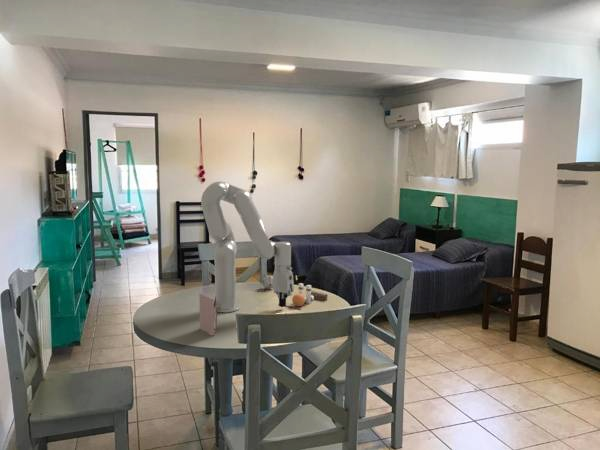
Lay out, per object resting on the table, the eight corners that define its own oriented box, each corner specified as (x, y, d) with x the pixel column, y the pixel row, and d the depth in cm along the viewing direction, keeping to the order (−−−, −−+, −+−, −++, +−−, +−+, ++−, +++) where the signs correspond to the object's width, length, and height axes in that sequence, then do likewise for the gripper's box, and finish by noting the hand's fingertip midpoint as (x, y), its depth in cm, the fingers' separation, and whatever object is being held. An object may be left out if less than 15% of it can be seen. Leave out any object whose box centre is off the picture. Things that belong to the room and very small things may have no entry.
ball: (308, 301, 234) (300, 310, 233) (301, 294, 238) (293, 303, 237) (303, 296, 229) (295, 305, 229) (296, 289, 233) (287, 298, 233)
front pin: (302, 299, 237) (314, 295, 243) (298, 298, 238) (310, 294, 245) (302, 304, 237) (314, 300, 244) (298, 303, 239) (310, 299, 245)
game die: (270, 296, 265) (273, 284, 259) (257, 290, 267) (259, 278, 260) (277, 285, 272) (280, 273, 265) (263, 279, 273) (266, 267, 267)
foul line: (300, 310, 227) (300, 309, 227) (278, 304, 236) (278, 304, 236) (301, 309, 227) (301, 309, 227) (279, 304, 236) (279, 303, 236)
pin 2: (308, 304, 237) (309, 286, 236) (304, 303, 239) (305, 285, 238) (311, 303, 239) (312, 285, 238) (308, 302, 240) (308, 284, 239)
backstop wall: (324, 300, 243) (325, 295, 243) (306, 296, 251) (306, 291, 251) (327, 300, 245) (327, 294, 245) (309, 296, 252) (309, 290, 252)
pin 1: (301, 302, 240) (301, 284, 239) (297, 301, 242) (297, 283, 241) (304, 301, 242) (304, 283, 241) (300, 300, 244) (300, 283, 243)
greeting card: (215, 336, 189) (215, 299, 188) (196, 336, 189) (196, 299, 187) (218, 327, 201) (218, 292, 199) (200, 327, 200) (200, 292, 198)
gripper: (300, 269, 224) (299, 307, 226) (276, 264, 233) (276, 301, 235) (289, 271, 218) (289, 311, 220) (265, 267, 227) (265, 304, 229)
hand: (282, 306), depth 228 cm, fingers closed
